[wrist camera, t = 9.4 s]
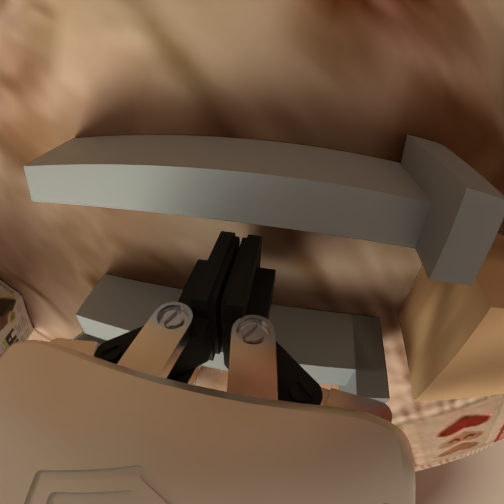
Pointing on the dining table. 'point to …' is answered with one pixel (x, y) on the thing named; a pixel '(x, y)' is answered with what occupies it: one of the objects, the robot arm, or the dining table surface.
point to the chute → (281, 223)
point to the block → (456, 333)
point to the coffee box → (12, 318)
